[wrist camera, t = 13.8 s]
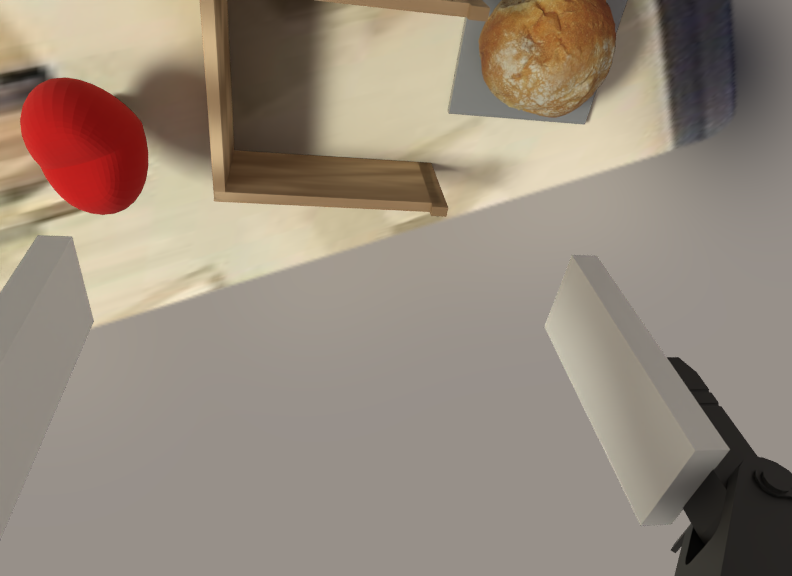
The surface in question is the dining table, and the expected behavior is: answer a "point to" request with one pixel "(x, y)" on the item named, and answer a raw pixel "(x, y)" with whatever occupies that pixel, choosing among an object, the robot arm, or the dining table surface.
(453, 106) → the slate board
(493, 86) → the bread roll
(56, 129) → the red heart shape
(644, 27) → the dining table surface
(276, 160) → the box
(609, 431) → the robot arm
